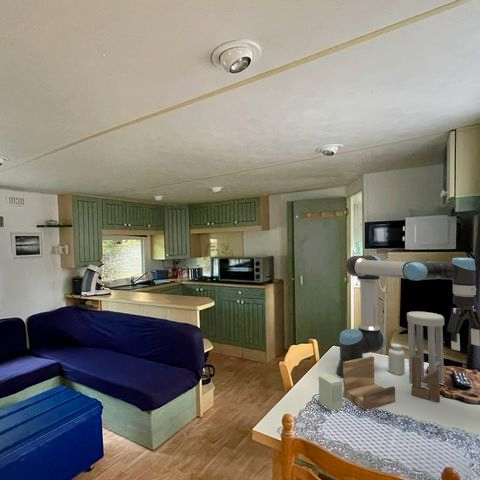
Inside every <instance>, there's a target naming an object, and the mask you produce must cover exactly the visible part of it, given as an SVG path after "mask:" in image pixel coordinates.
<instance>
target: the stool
mask: <svg viewBox="0 0 480 480" xmlns="http://www.w3.org/2000/svg"><path fill="white" fill-rule="evenodd" d="M406 321H407V331H408V332H407V334H408V335H407V336H408V337H407V340H408V342H407V344H408V370H409V371H408V375H409V376H408V378H409V379H408V381H409V382H408V383H409V384H411V385H412V355H418V356H420V358H421V379H422V378H424V377H425V366H424V365H425V358H424V357H425V356H424V327H427V349H428V352H427V353H428V356H427V357H428V374H430V373H432V372H433V371H435V370H436V369H438V368H439V383H444V384H445V372H444V370H445V369H444V368H445V367H444V364H445V363H444V337H443V336H444V333H443V332H444V331H443V329H444V328H443V326H445V317H444V316H443V315H442V314H438V313H436V312H435V313H434V312H427V311H409V312H407V313H406Z"/></svg>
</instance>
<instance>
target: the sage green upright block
mask: <svg viewBox="0 0 480 480" xmlns="http://www.w3.org/2000/svg"><path fill="white" fill-rule="evenodd" d="M343 399H344V398H343V380H342V379H340V378H338V377H336V376H334V375H333V374H331V373H326V374H322V375H319V376H318V403H319V402H320V403H321V404H323V405H324V406H326V407H327V408H328V409H329V410H330V411H334V410H338V409H341V408H344V406H343V403H344V402H343ZM321 404H320V405H321ZM329 410H328V411H329ZM330 411H329V412H330Z"/></svg>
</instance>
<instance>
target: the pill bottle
mask: <svg viewBox="0 0 480 480" xmlns="http://www.w3.org/2000/svg"><path fill="white" fill-rule="evenodd" d="M405 354H406V353H405V351H404V350H403V347H402V345H401V344H398V343H391V344H390V349H388V357H387V359H388V371H389V373H390V374H392V375H395V376H396V375H397V376H404V375H405V374H406V373H405V372H406V371H405V370H406V367H405Z"/></svg>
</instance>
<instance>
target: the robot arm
mask: <svg viewBox="0 0 480 480" xmlns="http://www.w3.org/2000/svg"><path fill="white" fill-rule="evenodd" d="M344 269H345V270H346V273H347V274H349V275H350V276H353V277H357V280H358V281H359V284H360V285H359V287H360V290H359V292H360V295H359V296H360V324H358V326H357V327H358V328H347V329H343V330H342V331H341V332H340V333H339V361H338V365H337V367H336V374H337V376H339V377H340V378H342V379H343V362H345V361H350V360H354V359H359V358H364V357H363V356H364V354H368V353H369V354H370V353H376V352H379V351H381V350H383V348H385V345H386V336H385V335H384V332H383V331H382V330H381V326H379V325H378V290H377V289H378V282H379V281H380V277H385V278H386V277H387V278H388V277H389V278H395V279H396V278H397V279H398V278H400V279H408V280H410V281H424V280H425V281H426V280H439V279H440V280H452V294H453V295H452V303H453V304H454V305H456V307H451V310H450V311H451V312H450V317H449V320H448V323H447V328H446V332H448V333H450V340H451V341H450V344H451V346H450V347H451V350H454V351H458V352H460V351H461V345H460V344H461V343H460V342H461V341H460V340H461V339H460V333H459V331H460V329H461V327H462V325H463V322H464V321H466V319H467V321H468V323H469V325H470V326H471V328H470V340H471V341H470V344H471V345H473V346H477V347H480V313H479V308H478V305H477V297H476V295H477V290H478V289H477V288H476V287H477V286H476V285H477V284H476V270H477V268H476V263H475V259H474V258H472V257H453V258H452V259H451V261H434V260H433V261H432V260H431V261H429V260H428V261H423V262H421V261H420V262H419V261H396V260H394V261H393V260H382V259H381V258H380V257H379V256H376V255H371V254H370V255H369V254H367V255H366V254H365V255H352V256H350V257H349V258H347V259H346V260H345V263H344Z"/></svg>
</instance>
